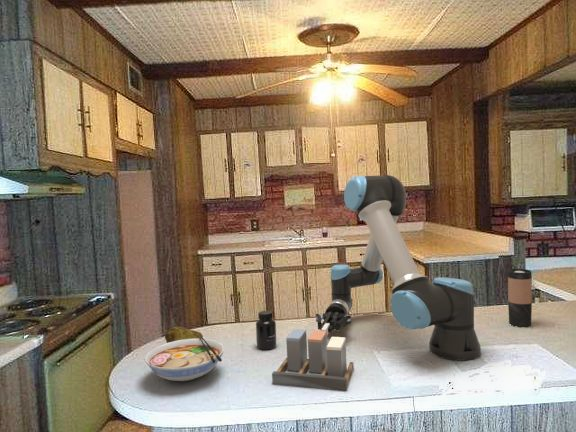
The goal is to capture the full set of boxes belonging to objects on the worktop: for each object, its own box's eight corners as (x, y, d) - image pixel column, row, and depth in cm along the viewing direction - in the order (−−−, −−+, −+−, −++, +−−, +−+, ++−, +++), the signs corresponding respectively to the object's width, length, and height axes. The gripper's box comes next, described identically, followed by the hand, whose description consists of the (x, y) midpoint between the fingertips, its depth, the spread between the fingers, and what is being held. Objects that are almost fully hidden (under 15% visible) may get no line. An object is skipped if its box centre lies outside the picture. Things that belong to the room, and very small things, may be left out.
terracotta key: (315, 361, 133) (314, 330, 133) (328, 362, 132) (326, 330, 131) (309, 372, 126) (307, 339, 125) (322, 373, 124) (321, 339, 124)
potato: (205, 349, 148) (203, 326, 147) (166, 355, 144) (164, 332, 143) (202, 341, 156) (201, 320, 155) (165, 347, 152) (164, 324, 151)
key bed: (287, 363, 133) (286, 354, 133) (353, 368, 127) (353, 358, 127) (272, 384, 119) (271, 373, 119) (346, 390, 113) (345, 379, 113)
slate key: (295, 359, 135) (293, 328, 134) (307, 360, 134) (306, 329, 133) (287, 370, 127) (286, 337, 127) (300, 371, 126) (299, 338, 126)
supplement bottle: (274, 351, 144) (272, 315, 143) (254, 350, 145) (252, 315, 144) (278, 343, 150) (277, 309, 149) (259, 342, 152) (258, 309, 151)
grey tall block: (333, 369, 127) (331, 336, 126) (346, 370, 126) (345, 337, 125) (327, 381, 119) (326, 346, 118) (342, 382, 118) (340, 347, 117)
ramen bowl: (143, 368, 134) (141, 342, 134) (215, 354, 143) (214, 330, 142) (149, 404, 111) (147, 373, 111) (235, 385, 120) (233, 356, 119)
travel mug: (536, 327, 154) (535, 272, 153) (514, 328, 154) (514, 273, 153) (524, 320, 162) (524, 268, 161) (504, 321, 162) (503, 269, 161)
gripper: (354, 323, 159) (344, 346, 136) (320, 321, 162) (304, 344, 140) (354, 303, 158) (343, 323, 135) (319, 301, 162) (303, 321, 139)
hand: (323, 333), depth 138 cm, fingers closed
